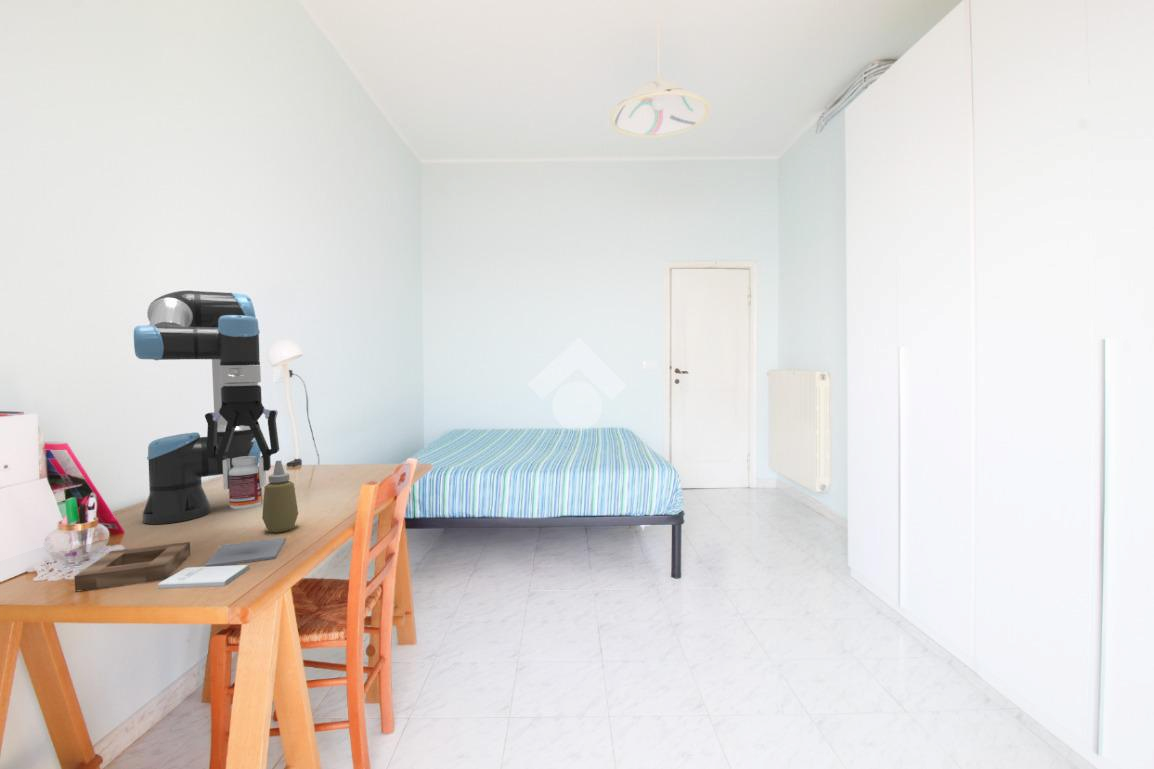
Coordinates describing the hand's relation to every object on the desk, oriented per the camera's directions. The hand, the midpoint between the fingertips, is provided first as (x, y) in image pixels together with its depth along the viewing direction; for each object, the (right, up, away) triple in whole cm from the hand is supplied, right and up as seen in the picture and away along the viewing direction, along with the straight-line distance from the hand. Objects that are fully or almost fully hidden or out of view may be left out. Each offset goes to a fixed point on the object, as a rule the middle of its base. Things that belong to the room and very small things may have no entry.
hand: (245, 486), depth 113 cm
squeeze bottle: (-2, -15, +17) cm, 23 cm away
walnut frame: (-16, -16, -9) cm, 25 cm away
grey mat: (0, -15, +1) cm, 15 cm away
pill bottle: (0, -5, 0) cm, 5 cm away
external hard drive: (+1, -17, -13) cm, 21 cm away
